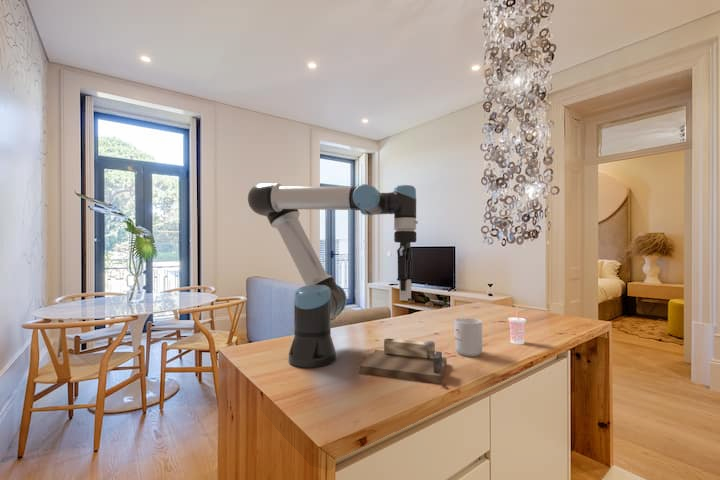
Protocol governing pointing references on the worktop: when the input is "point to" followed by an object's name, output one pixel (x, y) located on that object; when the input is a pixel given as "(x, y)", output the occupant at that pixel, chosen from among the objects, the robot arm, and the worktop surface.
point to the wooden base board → (405, 366)
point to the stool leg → (409, 348)
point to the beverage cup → (517, 329)
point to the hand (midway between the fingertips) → (405, 299)
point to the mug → (468, 336)
